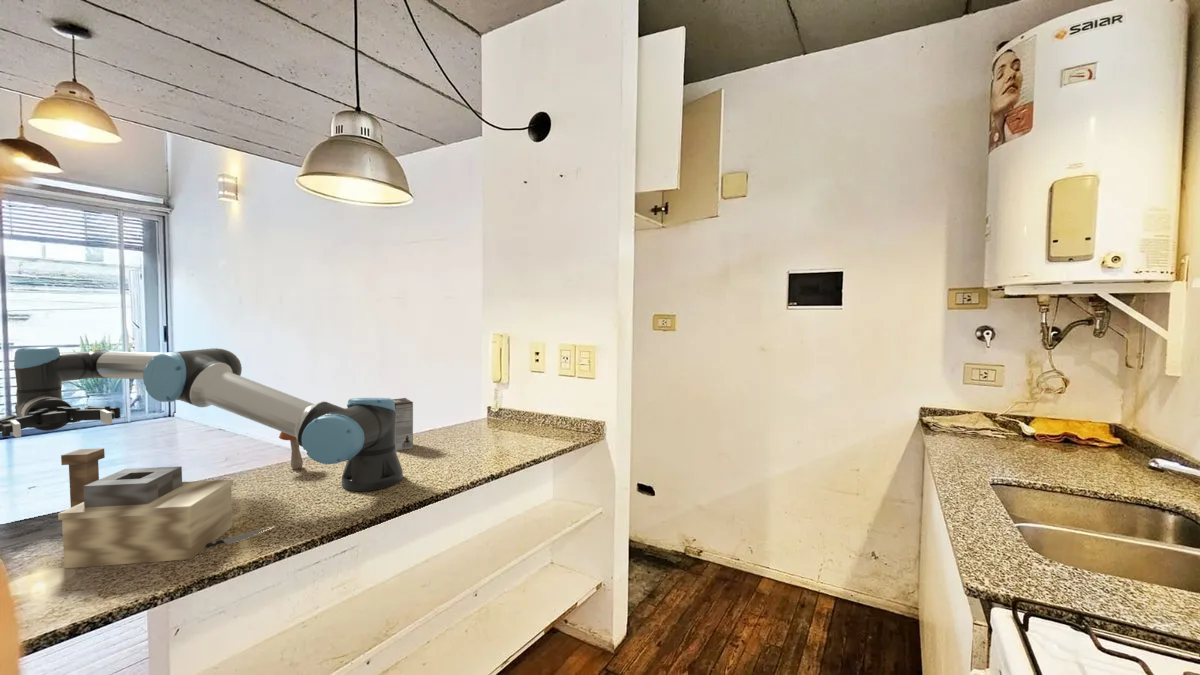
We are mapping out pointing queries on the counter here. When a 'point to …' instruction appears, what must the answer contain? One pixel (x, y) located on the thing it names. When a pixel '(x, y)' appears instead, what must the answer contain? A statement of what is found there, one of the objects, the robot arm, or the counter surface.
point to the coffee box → (403, 424)
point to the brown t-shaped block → (82, 471)
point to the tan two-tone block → (145, 518)
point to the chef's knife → (235, 538)
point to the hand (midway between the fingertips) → (66, 424)
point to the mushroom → (293, 450)
